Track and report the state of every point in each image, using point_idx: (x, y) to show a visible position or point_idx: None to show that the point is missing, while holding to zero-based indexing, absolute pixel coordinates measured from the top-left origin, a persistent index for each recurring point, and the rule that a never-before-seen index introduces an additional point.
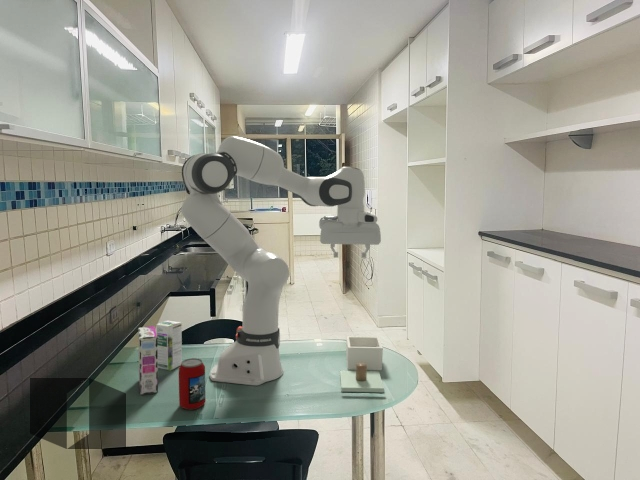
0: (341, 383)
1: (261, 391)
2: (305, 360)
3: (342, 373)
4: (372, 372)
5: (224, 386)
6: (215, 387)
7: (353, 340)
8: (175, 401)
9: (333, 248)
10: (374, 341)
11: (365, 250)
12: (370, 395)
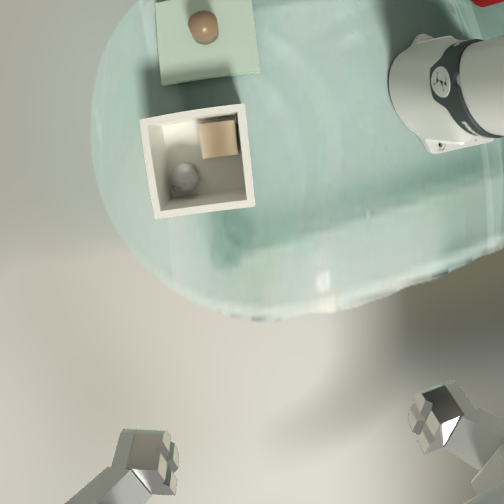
0: (251, 6)
1: (405, 13)
2: (351, 168)
3: (253, 56)
4: (177, 75)
5: None
6: None
7: (232, 199)
8: (493, 8)
9: (499, 434)
10: (169, 207)
11: (124, 498)
12: None
